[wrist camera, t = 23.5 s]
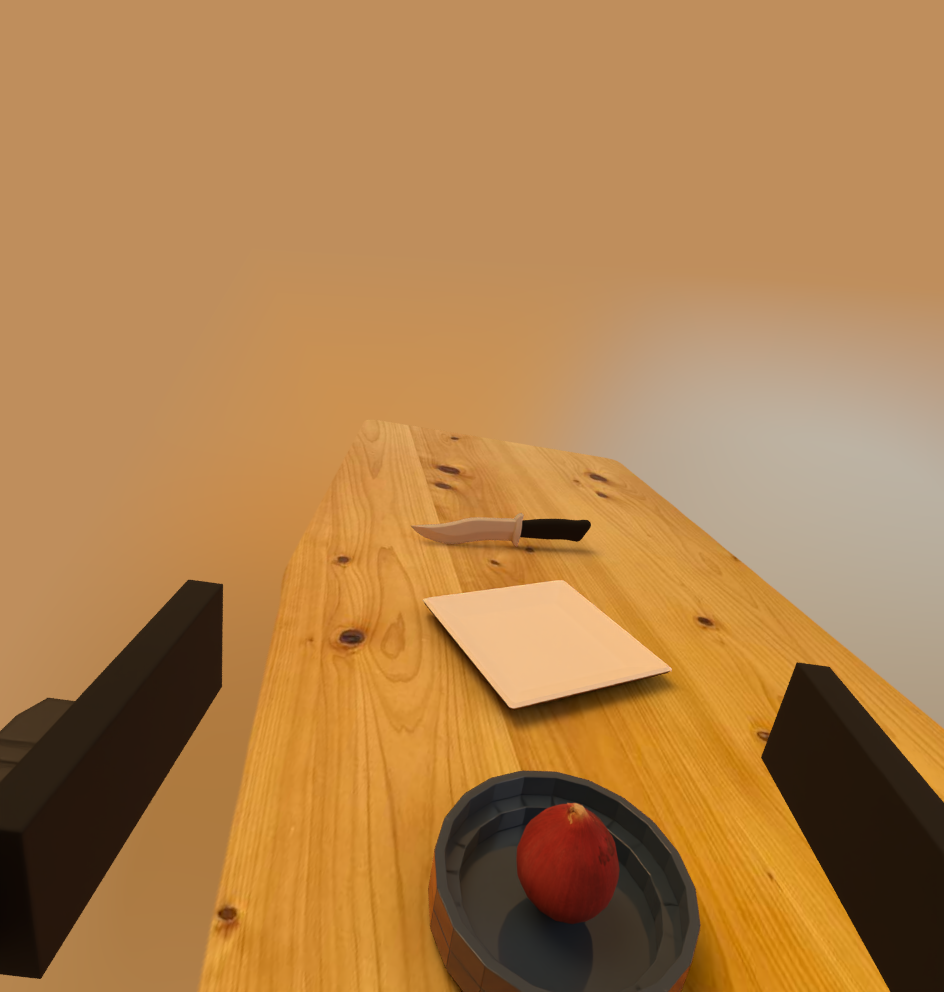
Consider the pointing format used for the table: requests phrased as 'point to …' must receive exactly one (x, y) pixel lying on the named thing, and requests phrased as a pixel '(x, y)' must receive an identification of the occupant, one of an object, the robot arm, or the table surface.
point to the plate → (542, 642)
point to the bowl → (535, 936)
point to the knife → (503, 529)
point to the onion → (568, 863)
